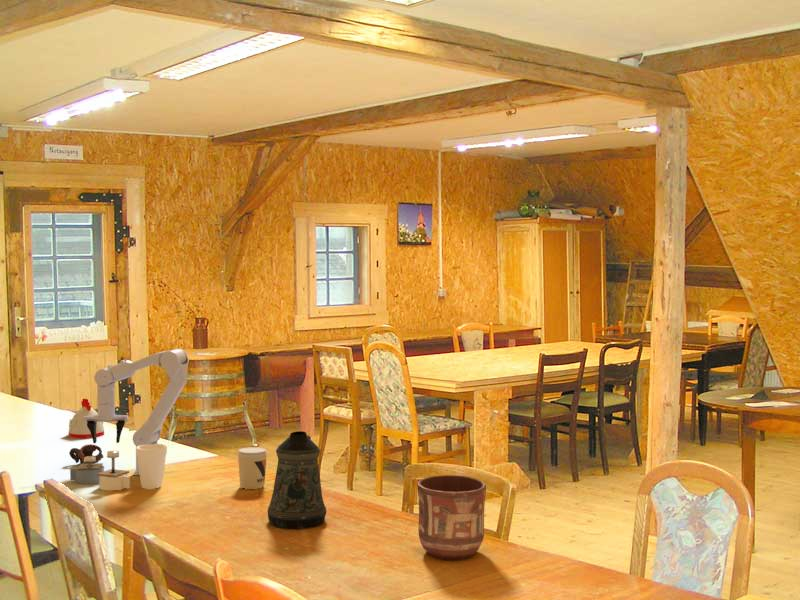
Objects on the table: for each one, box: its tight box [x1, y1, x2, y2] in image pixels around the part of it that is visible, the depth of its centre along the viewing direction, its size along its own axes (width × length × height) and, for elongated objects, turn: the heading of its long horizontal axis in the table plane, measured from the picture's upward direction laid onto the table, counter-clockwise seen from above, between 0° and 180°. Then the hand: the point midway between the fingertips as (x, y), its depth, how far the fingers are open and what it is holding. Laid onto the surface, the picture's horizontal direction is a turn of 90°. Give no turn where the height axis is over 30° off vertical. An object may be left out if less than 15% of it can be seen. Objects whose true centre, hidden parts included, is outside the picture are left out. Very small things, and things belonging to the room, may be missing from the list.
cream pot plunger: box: [106, 450, 120, 473], centre depth 304 cm, size 4×4×7 cm
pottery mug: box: [68, 444, 104, 464], centre depth 336 cm, size 12×10×8 cm
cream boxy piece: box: [97, 468, 131, 491], centre depth 304 cm, size 10×8×5 cm
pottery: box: [416, 474, 487, 561], centre depth 241 cm, size 18×18×18 cm
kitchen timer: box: [68, 398, 105, 439], centre depth 391 cm, size 14×14×15 cm
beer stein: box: [267, 430, 327, 531], centre depth 269 cm, size 16×19×25 cm
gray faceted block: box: [69, 462, 105, 485], centre depth 313 cm, size 10×8×5 cm
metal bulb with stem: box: [84, 455, 96, 467], centre depth 313 cm, size 4×4×7 cm
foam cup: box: [135, 443, 168, 490], centre depth 306 cm, size 10×9×13 cm
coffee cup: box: [237, 446, 268, 490], centre depth 307 cm, size 9×9×12 cm
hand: (106, 442), depth 327 cm, fingers open, 7 cm apart
